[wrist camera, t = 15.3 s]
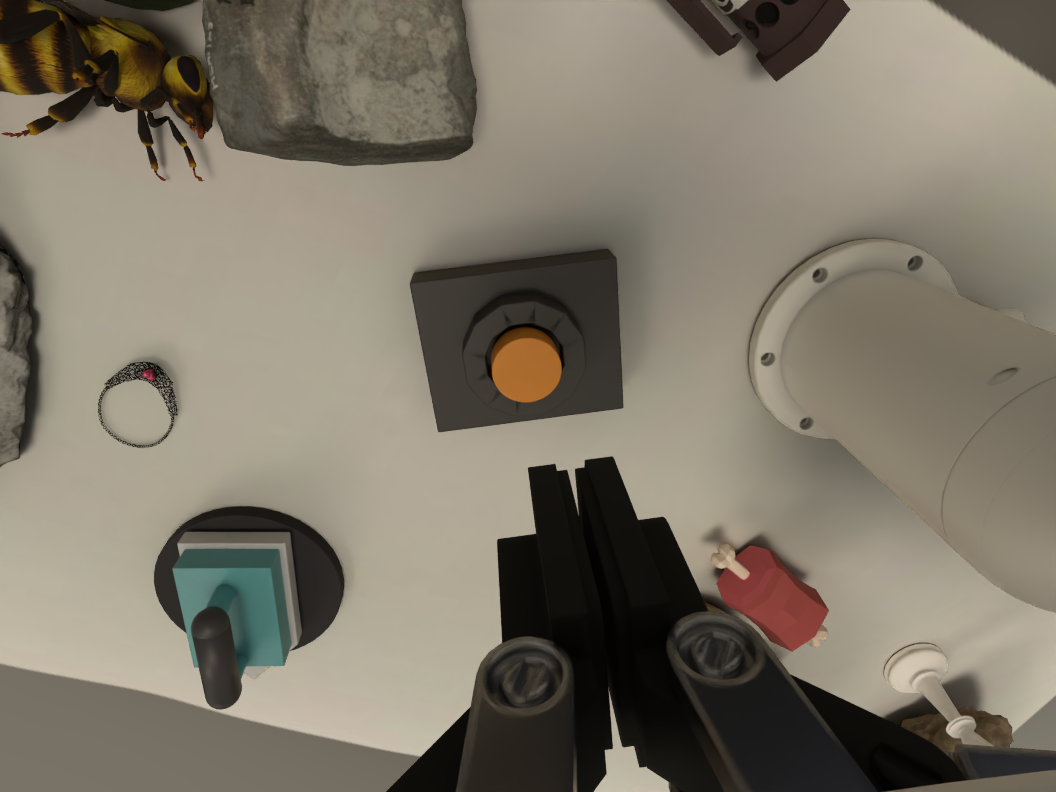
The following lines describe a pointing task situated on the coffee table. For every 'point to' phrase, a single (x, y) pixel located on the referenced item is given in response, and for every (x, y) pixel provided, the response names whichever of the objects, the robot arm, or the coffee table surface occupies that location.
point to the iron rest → (310, 556)
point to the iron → (237, 606)
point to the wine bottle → (151, 3)
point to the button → (525, 364)
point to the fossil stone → (13, 356)
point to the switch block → (512, 302)
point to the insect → (99, 70)
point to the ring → (150, 375)
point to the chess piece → (930, 686)
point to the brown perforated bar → (768, 27)
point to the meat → (771, 596)
